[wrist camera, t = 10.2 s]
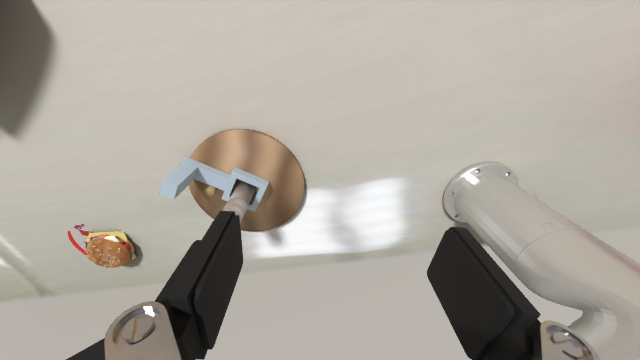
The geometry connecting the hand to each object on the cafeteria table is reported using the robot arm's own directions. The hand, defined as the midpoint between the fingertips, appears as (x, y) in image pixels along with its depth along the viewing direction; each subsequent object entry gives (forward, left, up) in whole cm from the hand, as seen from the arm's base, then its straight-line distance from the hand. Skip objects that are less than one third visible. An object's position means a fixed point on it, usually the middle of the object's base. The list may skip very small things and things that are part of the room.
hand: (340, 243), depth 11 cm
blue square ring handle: (+15, +13, -27) cm, 33 cm away
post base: (+12, +14, -28) cm, 34 cm away
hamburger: (+42, +30, -29) cm, 59 cm away
